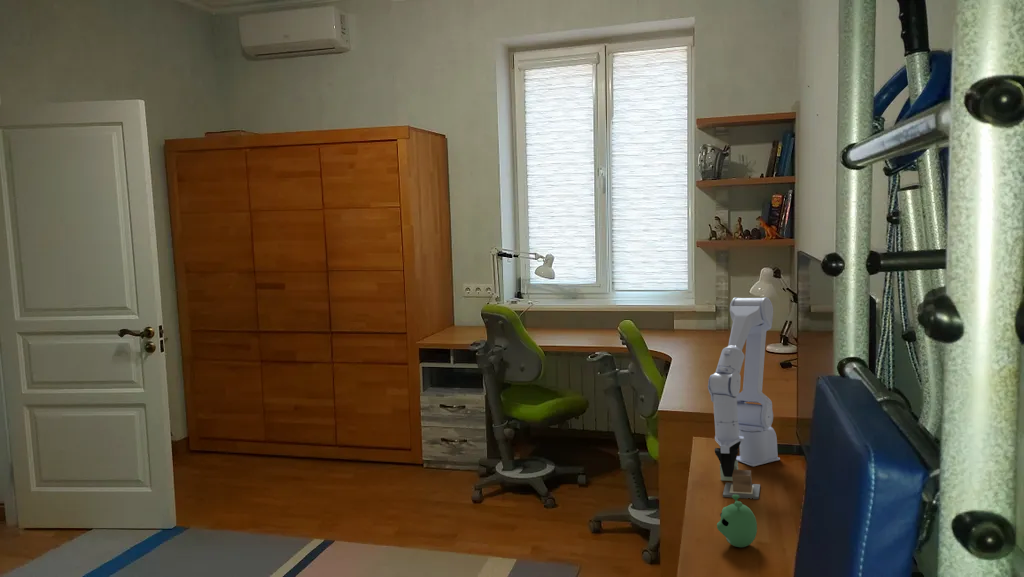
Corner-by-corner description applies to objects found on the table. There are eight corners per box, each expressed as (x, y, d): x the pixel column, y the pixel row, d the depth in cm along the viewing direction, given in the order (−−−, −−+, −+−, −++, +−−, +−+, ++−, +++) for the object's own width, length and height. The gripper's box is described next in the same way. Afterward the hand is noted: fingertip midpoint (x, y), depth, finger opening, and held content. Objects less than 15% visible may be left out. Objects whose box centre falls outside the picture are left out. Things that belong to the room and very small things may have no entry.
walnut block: (734, 485, 170) (733, 469, 169) (752, 486, 168) (751, 470, 168) (733, 491, 166) (732, 475, 166) (750, 492, 164) (750, 476, 164)
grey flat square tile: (726, 484, 172) (725, 482, 172) (760, 486, 169) (760, 483, 169) (722, 496, 165) (722, 494, 165) (758, 499, 162) (758, 496, 162)
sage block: (722, 475, 180) (721, 460, 179) (738, 476, 178) (737, 460, 178) (720, 480, 176) (719, 465, 176) (737, 481, 174) (736, 466, 174)
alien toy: (716, 538, 144) (713, 490, 143) (755, 538, 142) (752, 490, 142) (719, 553, 137) (716, 504, 136) (761, 553, 136) (757, 503, 135)
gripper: (740, 428, 168) (744, 483, 169) (744, 412, 181) (748, 463, 182) (710, 427, 170) (713, 481, 171) (716, 412, 184) (720, 462, 185)
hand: (729, 472), depth 177 cm, fingers open, 5 cm apart
